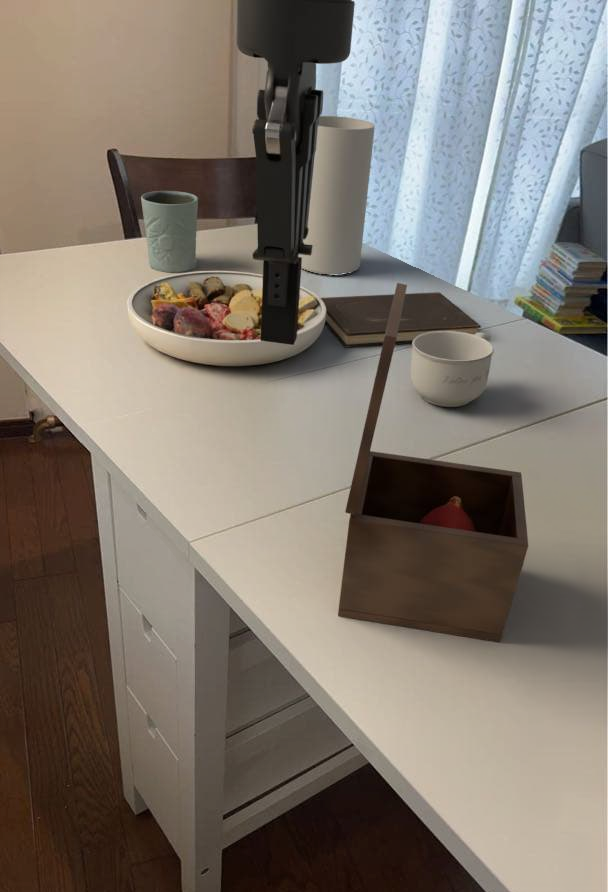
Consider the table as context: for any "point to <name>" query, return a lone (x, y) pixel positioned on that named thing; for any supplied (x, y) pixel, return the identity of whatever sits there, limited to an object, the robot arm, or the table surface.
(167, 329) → the bowl
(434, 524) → the onion
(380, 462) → the box
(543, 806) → the table surface
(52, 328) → the table surface
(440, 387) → the teacup
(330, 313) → the hardcover book
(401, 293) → the lid
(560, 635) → the table surface
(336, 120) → the cylinder vase
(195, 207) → the green embossed cup
